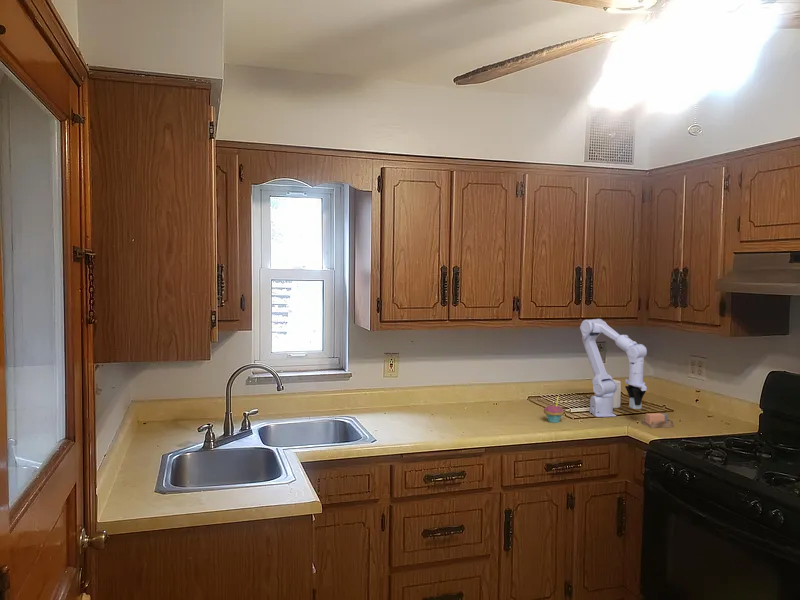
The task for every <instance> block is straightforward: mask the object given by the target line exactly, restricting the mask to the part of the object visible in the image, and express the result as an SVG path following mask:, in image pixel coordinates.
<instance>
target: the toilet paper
mask: <svg viewBox="0 0 800 600" xmlns="http://www.w3.org/2000/svg"><path fill="white" fill-rule="evenodd" d="M613 381H614V382H615V383H616V385H617V390H616V392H615V393H614V395H613V409H618V408H620V407H621V394H622V393H621V391H622V390H621V385H622V382H621V380H617V379H613Z"/></svg>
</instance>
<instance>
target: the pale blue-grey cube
mask: <svg viewBox="0 0 800 600" xmlns="http://www.w3.org/2000/svg"><path fill="white" fill-rule="evenodd" d="M628 398H629V397H628ZM628 400H629V401H628V402H629V403H628V404H629V405H628V406H629V408H631V409H632V410H634V409H635V410H637V409H638V410H641V409H642V401H641V404H640V405H635V402H634V398H629V399H628Z"/></svg>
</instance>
